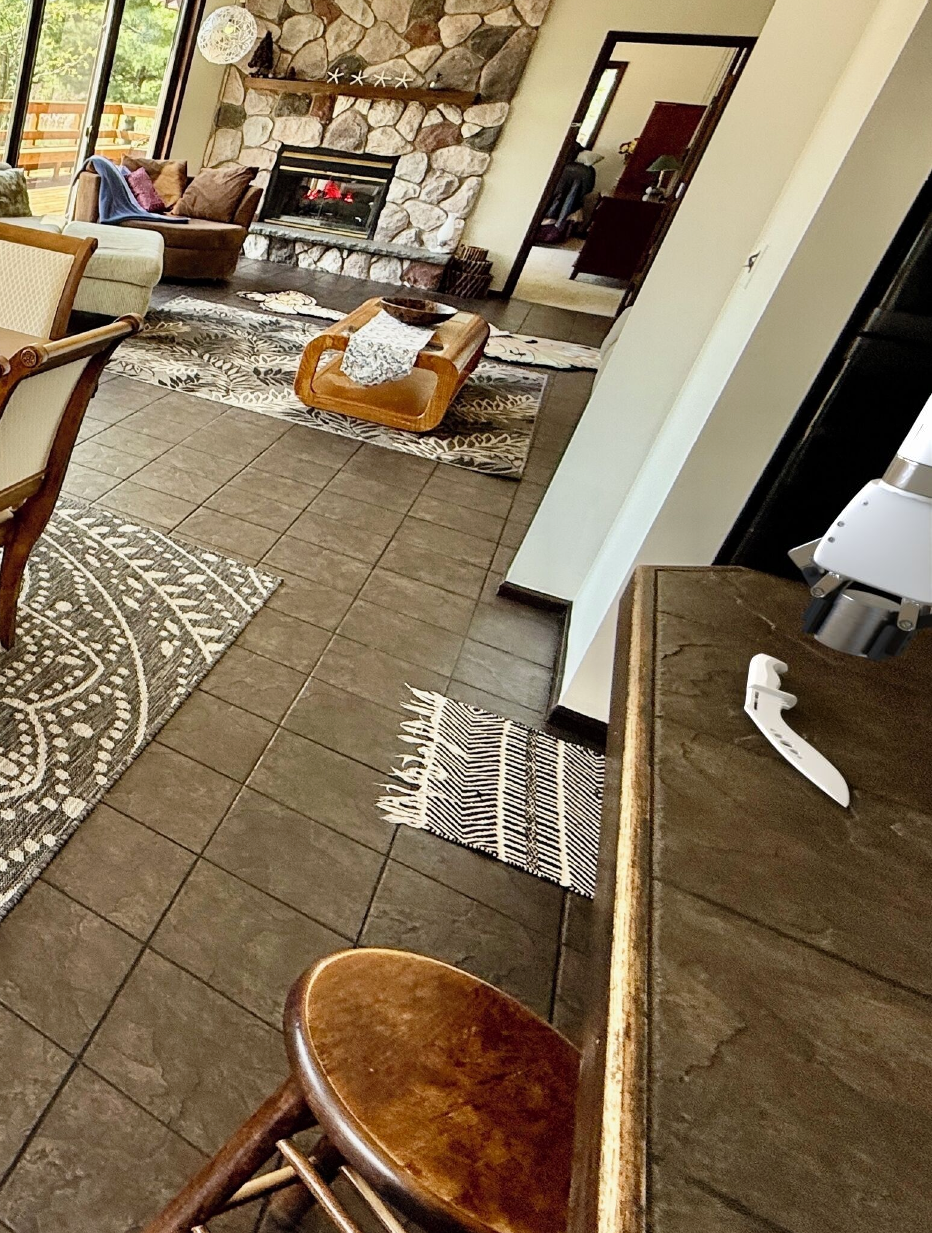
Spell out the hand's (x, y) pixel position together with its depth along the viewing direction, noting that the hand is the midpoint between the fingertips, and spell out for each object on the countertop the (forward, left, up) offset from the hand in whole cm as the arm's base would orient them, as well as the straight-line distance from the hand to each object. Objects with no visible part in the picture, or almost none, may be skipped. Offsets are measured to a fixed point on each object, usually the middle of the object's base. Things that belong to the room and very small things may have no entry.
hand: (845, 643), depth 93 cm
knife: (0, 0, -11) cm, 11 cm away
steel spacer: (0, 0, 0) cm, 0 cm away
